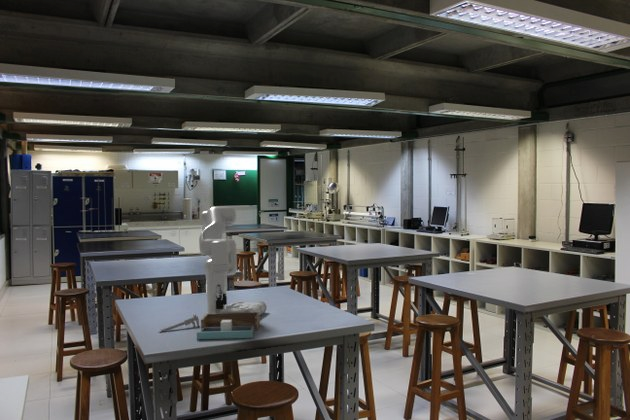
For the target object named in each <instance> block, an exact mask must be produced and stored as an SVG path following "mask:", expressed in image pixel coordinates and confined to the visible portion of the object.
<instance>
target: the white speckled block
mask: <svg viewBox="0 0 630 420" xmlns="http://www.w3.org/2000/svg"><path fill="white" fill-rule="evenodd" d="M232 326H233V325H232V320H222V321H221V326H220V327H221V331H232Z"/></svg>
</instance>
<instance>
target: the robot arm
mask: <svg viewBox="0 0 630 420" xmlns="http://www.w3.org/2000/svg"><path fill="white" fill-rule="evenodd" d="M236 220H237V214H236V210H235V208H234V207H233V206H212V207H211V208H209V209H208V210H204V211H202V212H201V214H200V221H201V224H202V226H203V228H204V229H203V230H201V232H200V234H199V238H198V241H199V242H198V243H199V246H198V247H199V252H200V254H201V255H203V256H204V257H205V256H207V257H211V258H209V259H207V260H206V261H205V262H204V268H203V269H204V274H205V281H206V308H207V311H206V314H217V313H220V311H221V310H223V309H226V306H227V305H228V296H227V290H228V276H234V275H236V273H237V271H238V270H237V269H238V264H237V263H238V259H237V255H238V254H237V243H236V241H235V240H234V239H232V238H223V234H224V233H225V231H226V227H231V226H232V227H233V226H234V224H235V222H236Z"/></svg>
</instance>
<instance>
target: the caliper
mask: <svg viewBox="0 0 630 420" xmlns="http://www.w3.org/2000/svg"><path fill="white" fill-rule="evenodd" d="M199 322H200V319H199V315H197V314H196V313H195V314H193V315H192V317H189V318H187V319H184V320H183V321H181V322H178V323H175V324H173V325H170V326H167V327H164V328H162V329H161V328H160V330H159V331H158V333H159V332H160V333H163V332H162V331H166V332H169V331H171V330H173V329H176V328H179V327H182V326H189V325H191V324H192V326H193V327H196V326H197V327H198V326H199V325H200V323H199Z"/></svg>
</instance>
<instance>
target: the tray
mask: <svg viewBox="0 0 630 420" xmlns="http://www.w3.org/2000/svg"><path fill="white" fill-rule="evenodd" d="M254 332H255V325H232V331H221V326H208V327H203V328H202V330H201V329H200V331H196V340H218V339H219V340H220V339H221V340H222V339H223V340H225V339H253V338H254V337H253V336H254Z"/></svg>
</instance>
